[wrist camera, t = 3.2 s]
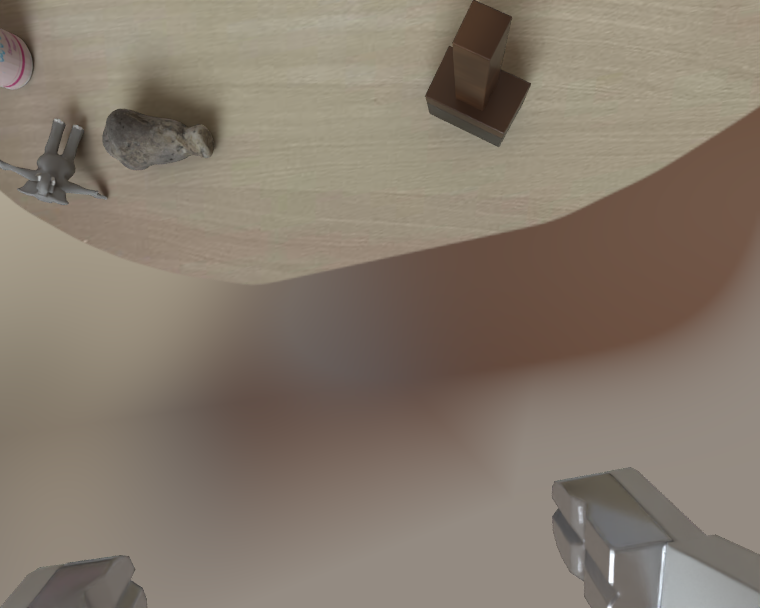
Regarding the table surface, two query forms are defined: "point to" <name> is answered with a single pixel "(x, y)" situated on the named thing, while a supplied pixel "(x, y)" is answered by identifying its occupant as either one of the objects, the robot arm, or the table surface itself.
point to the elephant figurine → (54, 169)
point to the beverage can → (14, 61)
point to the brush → (478, 78)
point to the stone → (153, 139)
